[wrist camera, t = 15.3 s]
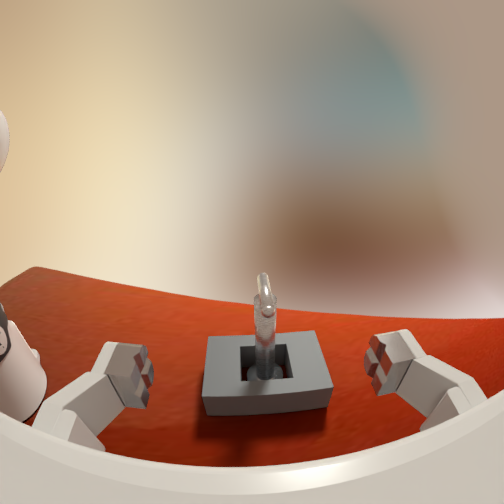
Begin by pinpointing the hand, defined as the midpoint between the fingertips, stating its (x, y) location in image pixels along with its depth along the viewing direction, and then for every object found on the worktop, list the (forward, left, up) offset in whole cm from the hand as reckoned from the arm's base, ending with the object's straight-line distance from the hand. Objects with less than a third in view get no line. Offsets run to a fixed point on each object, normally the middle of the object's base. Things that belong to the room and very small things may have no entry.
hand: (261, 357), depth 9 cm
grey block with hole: (+2, +16, -21) cm, 26 cm away
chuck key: (+2, +16, -21) cm, 26 cm away
